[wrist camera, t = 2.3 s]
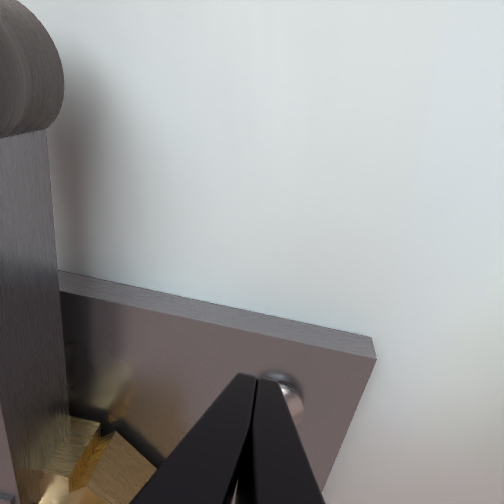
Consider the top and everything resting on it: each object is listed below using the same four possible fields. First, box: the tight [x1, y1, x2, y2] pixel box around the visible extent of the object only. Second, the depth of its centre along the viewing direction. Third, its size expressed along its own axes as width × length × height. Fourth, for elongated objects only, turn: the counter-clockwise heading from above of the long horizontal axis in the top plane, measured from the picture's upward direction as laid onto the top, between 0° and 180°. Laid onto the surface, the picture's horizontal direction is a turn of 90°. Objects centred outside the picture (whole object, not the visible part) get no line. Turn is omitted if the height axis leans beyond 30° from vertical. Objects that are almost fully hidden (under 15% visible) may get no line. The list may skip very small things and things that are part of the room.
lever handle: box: [0, 0, 157, 504], centre depth 11 cm, size 10×22×4 cm, turn 171°
